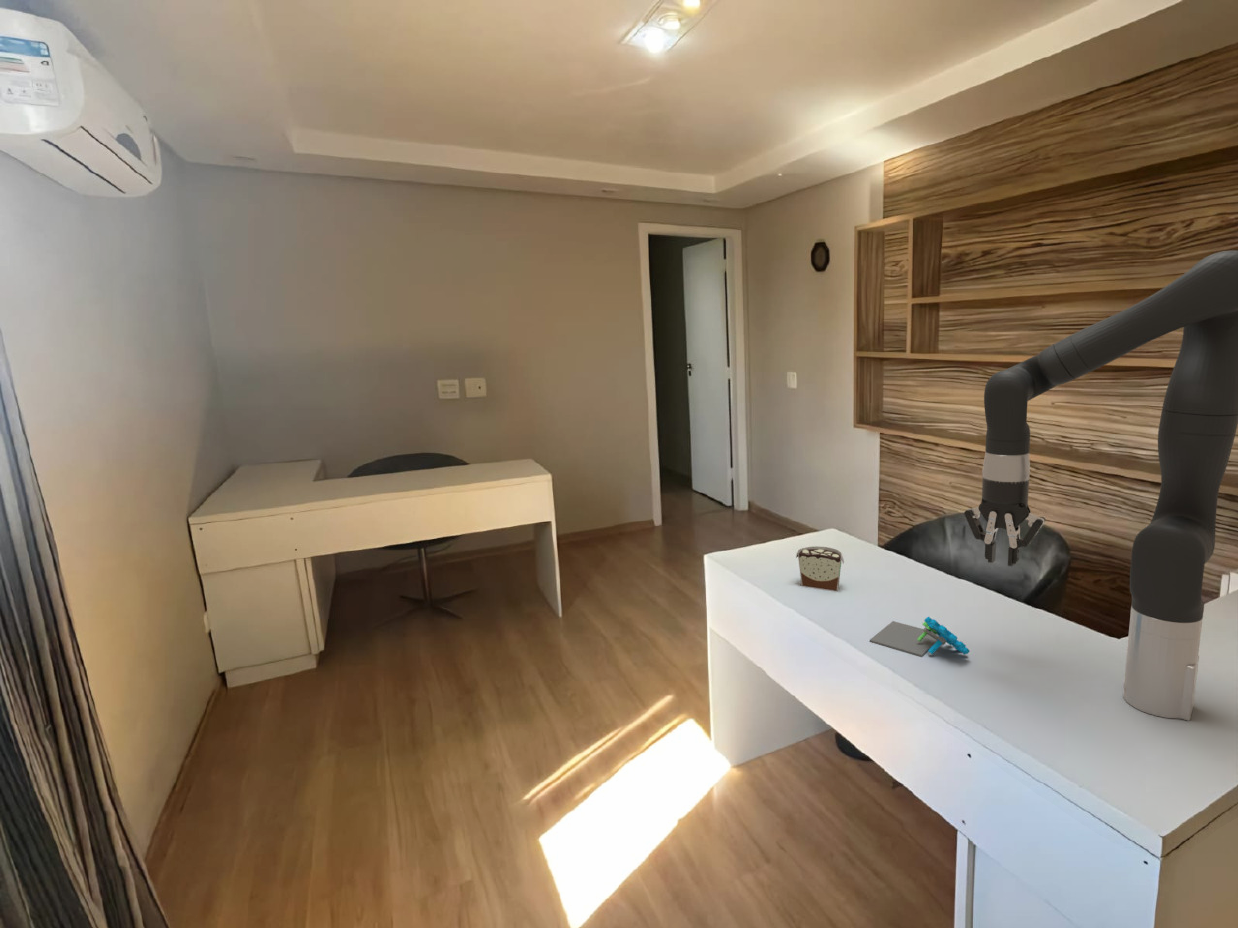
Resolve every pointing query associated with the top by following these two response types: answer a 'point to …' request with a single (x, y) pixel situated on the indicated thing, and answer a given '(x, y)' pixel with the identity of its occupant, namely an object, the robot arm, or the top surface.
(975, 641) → the top surface
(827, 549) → the food container
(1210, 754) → the top surface
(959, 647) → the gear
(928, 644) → the mat
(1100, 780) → the top surface
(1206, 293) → the robot arm
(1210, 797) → the top surface
